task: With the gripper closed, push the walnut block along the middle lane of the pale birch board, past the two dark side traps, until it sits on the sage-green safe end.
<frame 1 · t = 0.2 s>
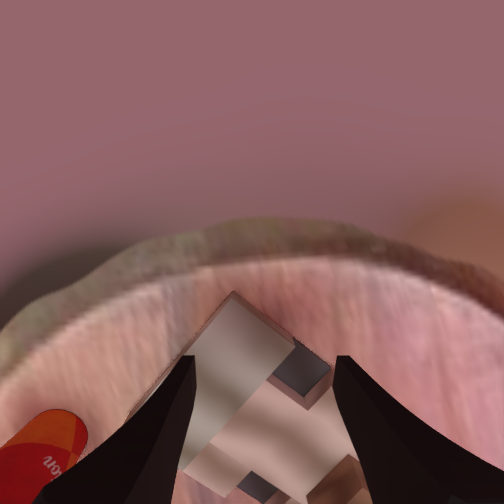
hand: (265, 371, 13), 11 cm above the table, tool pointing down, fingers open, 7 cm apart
walnut block: (349, 490, 25), point 2 cm above the table, touching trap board
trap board: (283, 428, 26), on the table
paper cup: (60, 431, 25), on the table
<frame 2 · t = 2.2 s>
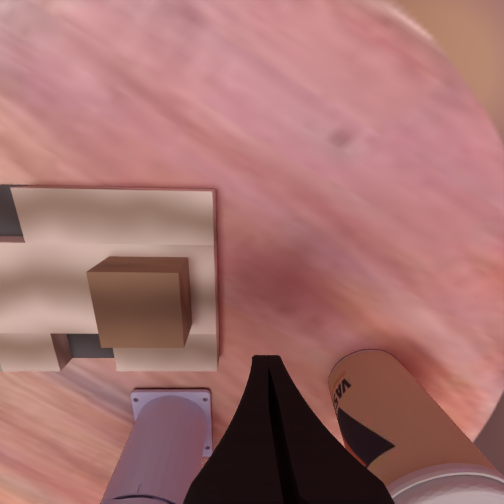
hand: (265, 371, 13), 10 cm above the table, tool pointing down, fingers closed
walnut block: (152, 291, 21), point 2 cm above the table, touching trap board
coffee cup: (364, 377, 27), on the table
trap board: (67, 280, 22), on the table
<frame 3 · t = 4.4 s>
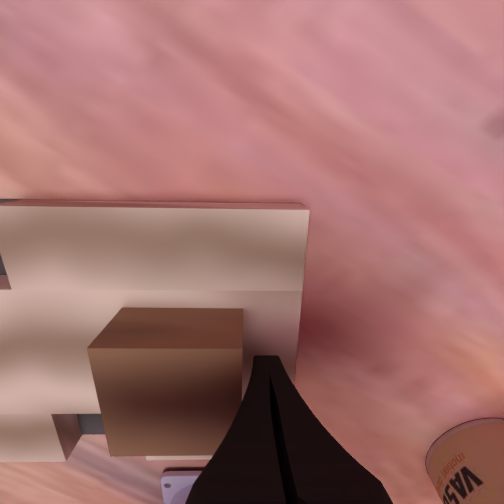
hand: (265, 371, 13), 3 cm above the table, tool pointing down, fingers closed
walnut block: (186, 357, 14), point 2 cm above the table, touching gripper
coffee cup: (472, 451, 20), on the table
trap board: (76, 334, 16), on the table
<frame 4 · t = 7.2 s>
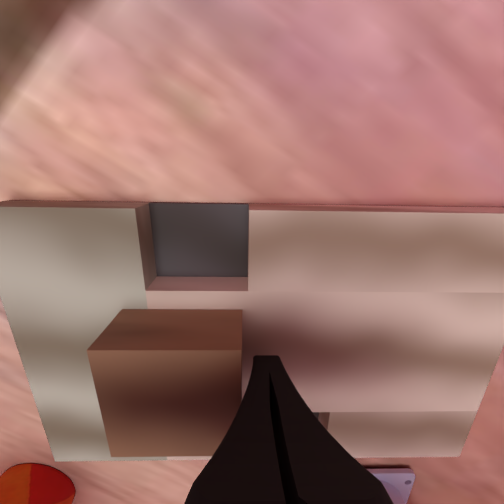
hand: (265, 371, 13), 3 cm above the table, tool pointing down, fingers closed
walnut block: (186, 358, 14), point 2 cm above the table, touching gripper
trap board: (263, 334, 16), on the table
paper cup: (40, 483, 20), on the table
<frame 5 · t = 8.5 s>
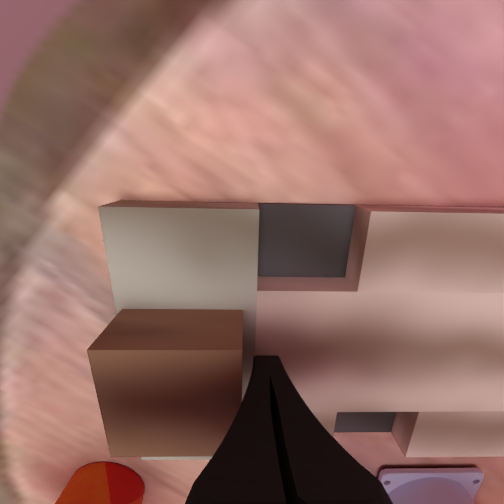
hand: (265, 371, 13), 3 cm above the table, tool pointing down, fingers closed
walnut block: (186, 358, 14), point 2 cm above the table, touching gripper, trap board
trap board: (350, 334, 16), on the table
paper cup: (109, 482, 20), on the table
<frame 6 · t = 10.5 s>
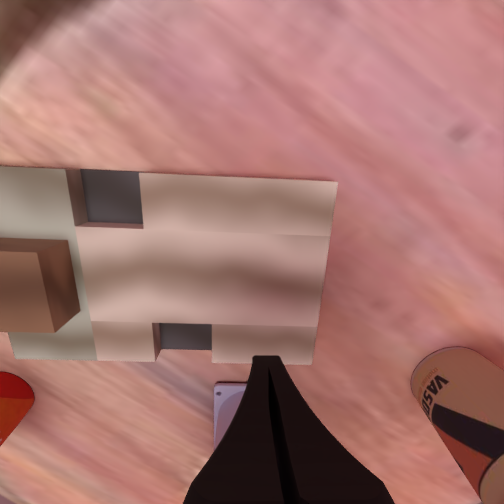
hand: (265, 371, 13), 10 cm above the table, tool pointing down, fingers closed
walnut block: (35, 275, 20), point 2 cm above the table, touching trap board
coffee cup: (445, 375, 27), on the table
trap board: (168, 269, 22), on the table
paper cup: (7, 391, 26), on the table
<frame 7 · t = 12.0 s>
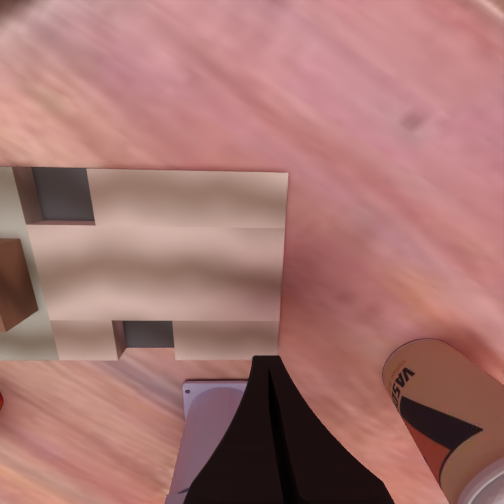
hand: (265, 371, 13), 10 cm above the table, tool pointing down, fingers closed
coffee cup: (418, 368, 27), on the table
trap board: (128, 266, 22), on the table
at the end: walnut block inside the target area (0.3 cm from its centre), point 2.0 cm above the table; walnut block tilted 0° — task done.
